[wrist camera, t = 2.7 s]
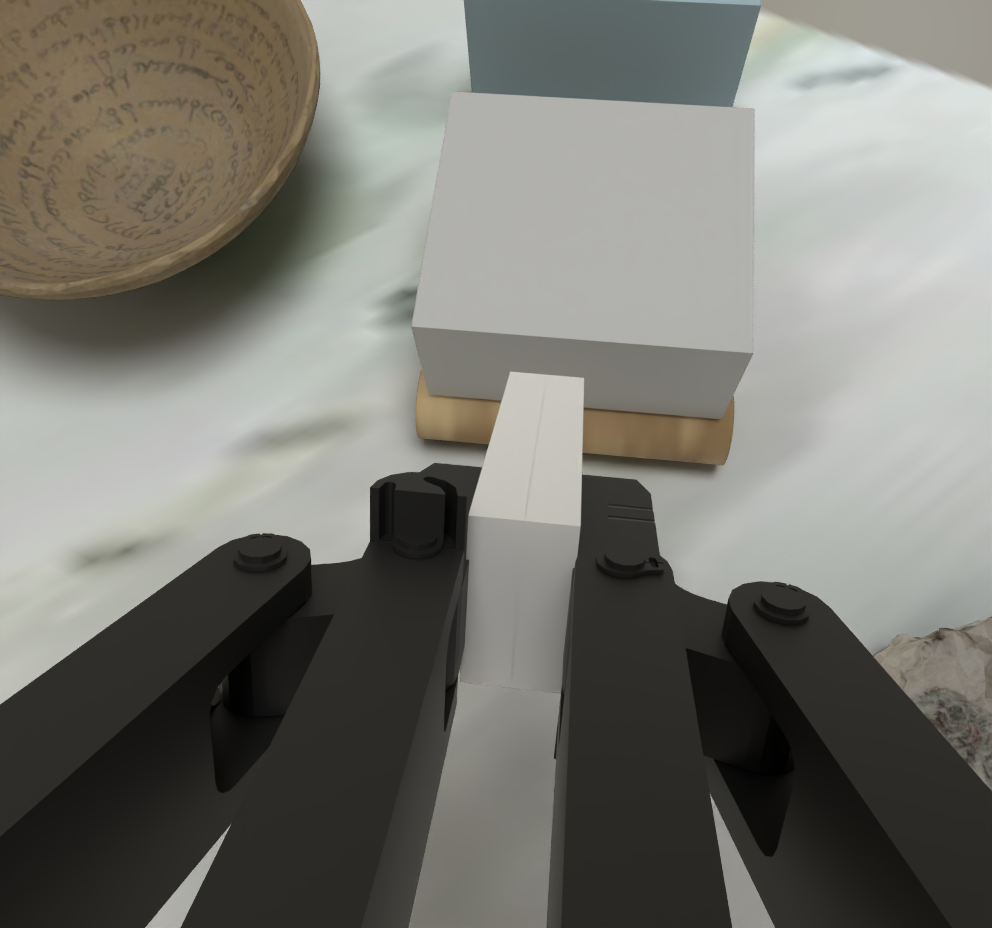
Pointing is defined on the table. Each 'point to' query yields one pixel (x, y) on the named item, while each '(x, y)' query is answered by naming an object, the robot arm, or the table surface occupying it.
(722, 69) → the fence
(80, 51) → the bowl
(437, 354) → the slab
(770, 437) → the table surface
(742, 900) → the table surface
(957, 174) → the table surface
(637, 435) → the roller bed
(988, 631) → the mineral rock
